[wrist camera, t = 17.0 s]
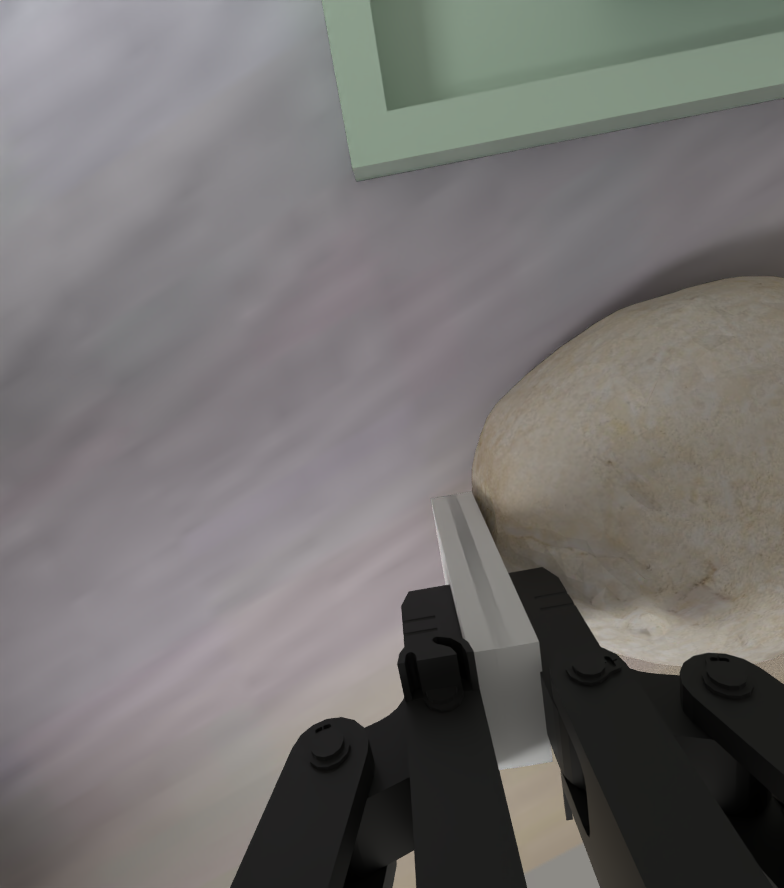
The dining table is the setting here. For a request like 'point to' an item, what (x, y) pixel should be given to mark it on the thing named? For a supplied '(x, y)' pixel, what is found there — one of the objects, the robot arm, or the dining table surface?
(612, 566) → the stone
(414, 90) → the tray
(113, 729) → the dining table surface
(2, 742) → the dining table surface
